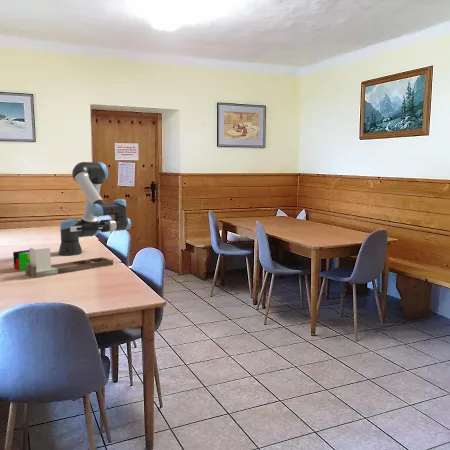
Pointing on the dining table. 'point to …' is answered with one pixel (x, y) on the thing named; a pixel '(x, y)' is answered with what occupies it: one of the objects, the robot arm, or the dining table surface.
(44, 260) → the block
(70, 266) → the trap box
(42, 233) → the dining table surface
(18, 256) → the puzzle toy
